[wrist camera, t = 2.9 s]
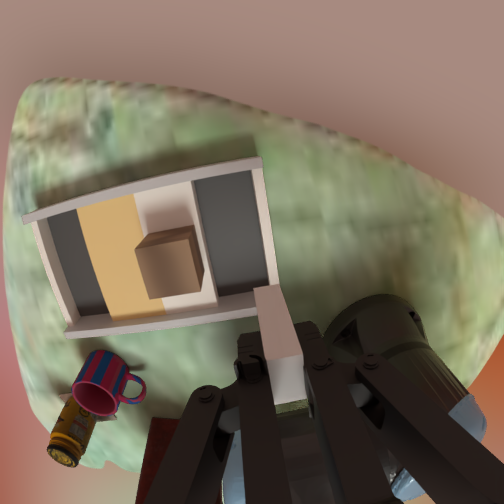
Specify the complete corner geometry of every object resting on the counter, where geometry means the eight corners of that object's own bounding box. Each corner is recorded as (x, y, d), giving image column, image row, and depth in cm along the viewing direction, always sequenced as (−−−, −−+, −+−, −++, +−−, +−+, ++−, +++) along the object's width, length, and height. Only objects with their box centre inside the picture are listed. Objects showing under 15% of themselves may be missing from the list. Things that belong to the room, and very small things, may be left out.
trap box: (257, 155, 31) (261, 157, 28) (278, 293, 37) (284, 310, 33) (39, 208, 31) (21, 216, 27) (78, 322, 36) (66, 339, 33)
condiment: (58, 394, 41) (33, 444, 30) (93, 388, 41) (68, 444, 29) (82, 422, 43) (63, 471, 32) (117, 418, 43) (101, 473, 32)
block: (194, 224, 31) (188, 239, 26) (204, 270, 32) (200, 291, 28) (147, 233, 31) (134, 249, 26) (159, 277, 32) (149, 299, 28)
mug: (84, 345, 38) (67, 375, 31) (151, 358, 39) (140, 392, 33) (90, 379, 40) (76, 409, 33) (152, 392, 41) (143, 425, 35)
